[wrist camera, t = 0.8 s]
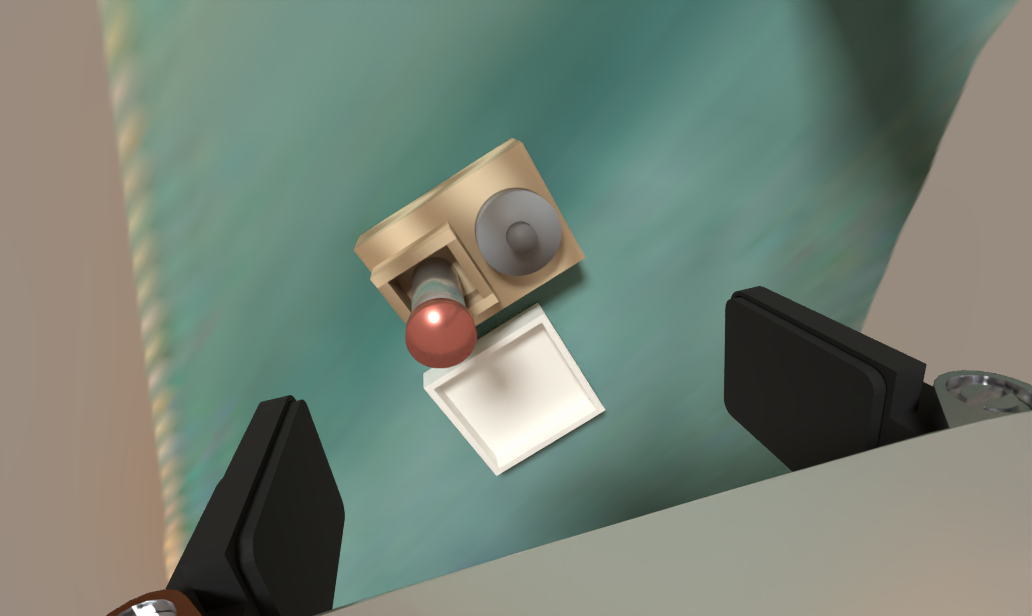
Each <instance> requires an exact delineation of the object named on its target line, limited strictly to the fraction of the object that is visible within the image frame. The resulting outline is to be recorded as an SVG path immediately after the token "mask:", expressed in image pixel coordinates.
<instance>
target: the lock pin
mask: <svg viewBox="0 0 1032 616" xmlns="http://www.w3.org/2000/svg"><path fill="white" fill-rule="evenodd" d="M476 341H477V330H476V326H475V322H474V319H473V316H472V314H471V313H470V311H469V310H468V309H467V308H466V306H465V302H464V298H463V294H462V290H461V285H460V281H459V277H458V273H457V270H456V268H455V267H454V266H453V264H452V263H450V262H449V261H448V260H446V259H443V258H439V257H431V258H427V259H425V260H423V261H421V262H420V263H419V264H418V265H417V266H416V268H415V269H414V272H413V275H412V311H411V314H410V316H409V318H408V320H407V324H406V345H407V348H408V350H409V352H410V354H411V355H412V356H413V357H414V358H415V359H416V360H417V361H418V362H420V363H421V364H423V365H425V366H428V367H432V368H449V367H452V366H455V365H457V364H459V363H461V362H463V361H464V360H465V359H466V358H467V357H468V356H469V355H470V354H471V353H472V351H473V349H474V347H475V345H476Z"/></svg>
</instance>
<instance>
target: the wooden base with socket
mask: <svg viewBox="0 0 1032 616" xmlns="http://www.w3.org/2000/svg"><path fill="white" fill-rule="evenodd" d="M354 251H355V252H356V253H357V255H358V256H359V257H360V258H361V260H362V261H363V262H364V263H365V265H366V266H367V267H368V269H369V270H370V271H371V272H372V274H371V278H370V280H371V281H372V282H373V283H374V285H375V286H376V287H377V288H378V290H379V291H380V292H381V293H382V295H383V296H384V297H385V298H386V300H387V301H388V302H389V304H390V305H391V306H392V307H393V309H394V310H395V311H396V312H397V314H398V315H399V316H400V317H401V319H402V320H403V321H404V322H405V324H407V320H408V318H409V316H410V314H411V311H412V275H413V272H414V269H415V268H416V266H417V265H418V264H419V263H420V262H421V261H423V260H425V259H427V258H431V257H439V258H443V259H446V260H448V261H449V262H450V263H452V264H453V266H454V267H455V268H456V270H457V273H458V277H459V281H460V285H461V290H462V294H463V298H464V302H465V306H466V308H467V309H468V310H469V311H470V313H471V314H472V316H473V319H474V322H475V326H477V325H478V324H480V323H482V322H483V321H485V320H486V319H488V318H490V317H491V316H493V315H494V314H496V313H498V312H499V311H501V310H502V309H504V308H506V307H507V306H509V305H510V304H512V303H514V302H515V301H517V300H518V299H520V298H522V297H523V296H525V295H526V294H528V293H530V292H531V291H533V290H534V289H536V288H538V287H539V286H541V285H542V284H544V283H546V282H547V281H549V280H550V279H552V278H554V277H555V276H557V275H558V274H560V273H562V272H563V271H565V270H567V269H568V268H570V267H571V266H573V265H575V264H576V263H578V262H579V261H581V260H583V259H584V258H585V256H584V254H583V253H582V251H581V249H580V247H579V245H578V243H577V242H576V240H575V238H574V236H573V234H572V232H571V231H570V229H569V227H568V225H567V223H566V222H565V220H564V218H563V216H562V214H561V212H560V211H559V209H558V207H557V205H556V203H555V202H554V200H553V198H552V196H551V194H550V192H549V191H548V189H547V187H546V185H545V183H544V182H543V180H542V178H541V176H540V174H539V172H538V171H537V169H536V167H535V165H534V163H533V161H532V160H531V158H530V156H529V154H528V152H527V151H526V149H525V147H524V145H523V143H522V142H520V141H518V140H516V139H513V138H511V139H509V140H508V141H506V142H505V143H503V144H502V145H500V146H498V147H497V148H495V149H494V150H492V151H491V152H489V153H488V154H486V155H484V156H483V157H481V158H480V159H478V160H477V161H475V162H474V163H472V164H470V165H469V166H467V167H466V168H464V169H463V170H461V171H460V172H458V173H456V174H455V175H453V176H452V177H450V178H449V179H447V180H446V181H444V182H442V183H441V184H439V185H438V186H436V187H435V188H433V189H432V190H430V191H428V192H427V193H425V194H424V195H422V196H421V197H419V198H418V199H416V200H415V201H413V202H411V203H410V204H408V205H407V206H405V207H404V208H402V209H401V210H399V211H397V212H396V213H394V214H393V215H391V216H390V217H388V218H387V219H385V220H383V221H382V222H380V223H379V224H377V225H376V226H374V227H373V228H371V229H369V230H368V231H366V232H365V233H363V234H362V235H360V236H359V239H358V241H357V244H356V246H355V248H354Z"/></svg>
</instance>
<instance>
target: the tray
mask: <svg viewBox="0 0 1032 616" xmlns="http://www.w3.org/2000/svg"><path fill="white" fill-rule="evenodd" d="M423 378H424V389H425V390H426V391H427V393H428V394H429V395H430V396H431V397H432V399H433V400H434V401H435V402H436V403H437V405H438V406H439V407H440V408H441V409H442V411H443V412H444V413H445V414H446V415H447V417H448V418H449V419H450V420H451V421H452V423H453V424H454V425H455V426H456V427H457V429H458V430H459V431H460V432H461V433H462V435H463V436H464V437H465V438H466V439H467V441H468V442H469V443H470V444H471V446H472V447H473V448H474V449H475V450H476V452H477V453H478V454H479V455H480V456H481V458H482V459H483V460H484V461H485V462H486V464H487V465H488V466H489V467H490V468H491V470H492V471H493V472H494V473H495V474H496V476H497V475H499V474H501V473H502V472H504V471H506V470H507V469H509V468H510V467H512V466H514V465H515V464H517V463H519V462H520V461H522V460H524V459H525V458H527V457H529V456H530V455H532V454H534V453H535V452H537V451H539V450H540V449H542V448H544V447H545V446H547V445H549V444H550V443H552V442H554V441H555V440H557V439H559V438H560V437H562V436H563V435H565V434H567V433H568V432H570V431H572V430H573V429H575V428H577V427H578V426H580V425H582V424H583V423H585V422H587V421H588V420H590V419H592V418H593V417H595V416H597V415H598V414H600V413H602V412H603V411H605V409H604V407H603V406H602V404H601V402H600V401H599V399H598V397H597V396H596V394H595V393H594V391H593V389H592V388H591V386H590V385H589V383H588V381H587V380H586V378H585V377H584V375H583V373H582V372H581V370H580V369H579V367H578V366H577V364H576V362H575V361H574V359H573V358H572V356H571V354H570V353H569V351H568V350H567V348H566V346H565V345H564V343H563V342H562V340H561V338H560V337H559V335H558V334H557V332H556V330H555V329H554V327H553V326H552V324H551V323H550V321H549V319H548V318H547V316H546V315H545V313H544V311H543V310H542V308H541V307H540V305H539V303H538V302H537V303H536V304H534V305H532V306H531V307H529V308H528V309H526V310H524V311H523V312H521V313H520V314H518V315H516V316H515V317H513V318H512V319H510V320H508V321H507V322H505V323H504V324H502V325H500V326H499V327H497V328H496V329H494V330H492V331H491V332H489V333H487V334H486V335H484V336H483V337H481V338H479V339H478V340H477V341H476V345H475V347H474V349H473V351H472V353H471V354H470V355H469V356H468V357H467V358H466V359H465V360H464V361H463V362H461V363H459V364H457V365H455V366H452V367H449V368H431V369H430V370H428V371H426V372H425V373H423Z"/></svg>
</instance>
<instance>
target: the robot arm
mask: <svg viewBox="0 0 1032 616" xmlns="http://www.w3.org/2000/svg"><path fill="white" fill-rule="evenodd" d="M925 369H926V364H925V363H923V362H921V361H919V360H917V359H915V358H912V357H910V356H908V355H906V354H904V353H902V352H900V351H898V350H895V349H893V348H891V347H889V346H887V345H885V344H883V343H881V342H879V341H877V340H874V339H872V338H870V337H868V336H866V335H864V334H862V333H860V332H858V331H855V330H853V329H851V328H849V327H847V326H845V325H843V324H841V323H838V322H836V321H834V320H832V319H830V318H828V317H826V316H824V315H822V314H819V313H817V312H815V311H813V310H811V309H809V308H807V307H805V306H803V305H800V304H798V303H796V302H794V301H792V300H790V299H788V298H786V297H783V296H781V295H779V294H777V293H775V292H773V291H771V290H769V289H767V288H764V287H761V286H758V287H753V288H749V289H745V290H740V291H736V292H734V293H733V295H732V297H731V299H729V300H728V301H727V303H726V307H725V369H724V403H725V406H726V409H727V411H728V412H729V414H730V415H731V416H732V417H733V418H734V419H735V420H736V421H738V422H739V423H740V424H741V425H742V426H743V427H744V428H745V429H746V430H747V431H749V432H750V433H751V434H752V435H753V436H754V437H755V438H756V439H757V440H758V441H760V442H761V443H762V444H763V445H764V446H765V447H766V448H767V449H768V450H769V451H771V452H772V453H773V454H774V455H775V456H776V457H777V458H778V459H779V460H780V461H782V462H783V463H784V464H785V465H786V466H787V467H788V468H789V469H790V470H791V471H793V472H791V473H788V474H784V475H781V476H777V477H774V478H770V479H767V480H764V481H760V482H757V483H753V484H750V485H746V486H743V487H739V488H736V489H733V490H729V491H726V492H722V493H719V494H715V495H712V496H709V497H705V498H702V499H698V500H695V501H692V502H688V503H685V504H681V505H678V506H674V507H671V508H668V509H664V510H661V511H658V512H654V513H651V514H647V515H644V516H641V517H637V518H634V519H631V520H627V521H624V522H620V523H617V524H614V525H610V526H607V527H604V528H600V529H597V530H593V531H590V532H587V533H583V534H580V535H576V536H573V537H570V538H566V539H563V540H559V541H556V542H553V543H549V544H546V545H542V546H539V547H536V548H532V549H529V550H526V551H522V552H519V553H516V554H512V555H509V556H506V557H502V558H499V559H496V560H492V561H489V562H486V563H482V564H479V565H476V566H472V567H469V568H466V569H462V570H459V571H456V572H452V573H449V574H446V575H442V576H439V577H435V578H432V579H429V580H425V581H422V582H419V583H415V584H412V585H409V586H405V587H402V588H399V589H395V590H392V591H389V592H385V593H382V594H379V595H375V596H372V597H369V598H365V599H362V600H359V601H356V602H353V603H350V604H347V605H344V606H341V607H338V608H335V609H332V607H333V599H334V592H335V585H336V578H337V571H338V563H339V556H340V549H341V542H342V535H343V527H344V519H345V512H344V506H343V502H342V499H341V496H340V493H339V490H338V488H337V485H336V482H335V480H334V477H333V474H332V471H331V469H330V466H329V463H328V460H327V458H326V455H325V452H324V450H323V447H322V444H321V441H320V439H319V436H318V433H317V431H316V428H315V425H314V422H313V420H312V417H311V414H310V412H309V409H308V406H307V404H306V402H305V401H304V400H299V401H296V400H295V398H294V397H293V396H292V395H289V396H285V397H280V398H276V399H272V400H267V401H263V402H261V403H260V404H259V405H258V407H257V409H256V411H255V414H254V416H253V418H252V420H251V422H250V424H249V426H248V428H247V430H246V432H245V434H244V436H243V438H242V440H241V442H240V444H239V446H238V448H237V450H236V452H235V454H234V456H233V458H232V460H231V462H230V464H229V467H228V469H227V471H226V473H225V475H224V477H223V479H221V480H220V482H219V483H218V485H217V486H216V488H215V490H214V492H213V494H212V496H211V498H210V500H209V502H208V504H207V506H206V508H205V510H204V512H203V514H202V516H201V518H200V520H199V522H198V524H197V526H196V528H195V530H194V533H193V535H192V537H191V539H190V541H189V543H188V545H187V547H186V549H185V551H184V553H183V555H182V557H181V559H180V561H179V563H178V565H177V567H176V569H175V571H174V573H173V575H172V577H171V579H170V581H169V583H168V585H167V587H166V589H163V590H158V591H153V592H149V593H146V594H144V595H141V596H139V597H137V598H134V599H132V600H130V601H128V602H126V603H125V604H123V605H121V606H120V607H118V608H116V609H115V610H113V611H112V612H110V613H109V614H107V615H106V616H1032V386H1031V385H1030V384H1027V383H1025V382H1022V381H1020V380H1017V379H1014V378H1011V377H1007V376H1003V375H1000V374H996V373H989V372H982V371H967V370H966V371H965V370H963V371H962V370H961V371H952V372H947V373H945V374H942V375H939V376H938V377H937V378H936V379H935V380H934V385H933V386H931V385H928V384H927V383H924V382H923V380H924V374H925Z"/></svg>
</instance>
